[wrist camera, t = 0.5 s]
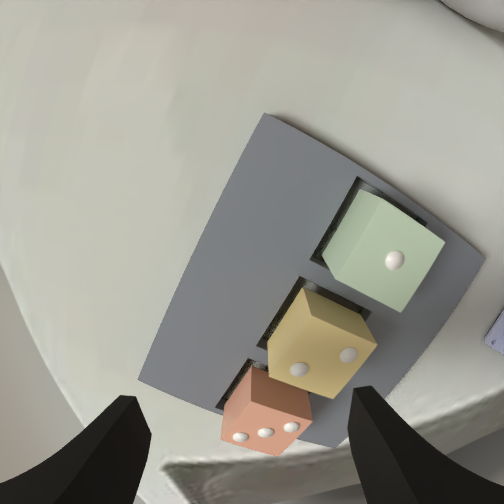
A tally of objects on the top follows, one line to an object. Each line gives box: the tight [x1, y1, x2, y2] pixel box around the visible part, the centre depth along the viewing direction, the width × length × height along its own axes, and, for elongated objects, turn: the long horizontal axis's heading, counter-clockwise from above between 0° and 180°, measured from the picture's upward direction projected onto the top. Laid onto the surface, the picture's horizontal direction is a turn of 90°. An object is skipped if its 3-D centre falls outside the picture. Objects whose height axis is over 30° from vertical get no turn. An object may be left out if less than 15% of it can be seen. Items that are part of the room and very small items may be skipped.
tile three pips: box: [220, 366, 313, 456], centre depth 18 cm, size 4×4×3 cm
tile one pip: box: [322, 189, 445, 313], centre depth 15 cm, size 4×4×3 cm
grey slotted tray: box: [138, 113, 485, 448], centre depth 19 cm, size 16×18×1 cm
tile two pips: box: [267, 287, 377, 399], centre depth 17 cm, size 4×4×3 cm
